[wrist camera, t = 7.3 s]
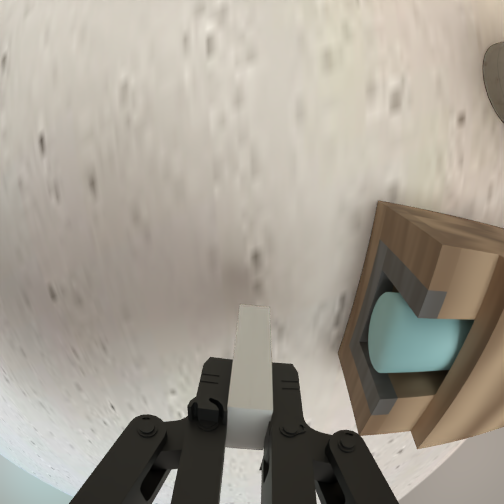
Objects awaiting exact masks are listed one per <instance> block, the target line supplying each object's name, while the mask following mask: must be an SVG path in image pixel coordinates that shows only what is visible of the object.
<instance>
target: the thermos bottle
mask: <svg viewBox="0 0 504 504" xmlns="http://www.w3.org/2000/svg"><path fill="white" fill-rule="evenodd" d="M483 73H484V81H485V86H486V90H487V93H488V96H489V99H490V101H491V103H492V106H493V108H494V109H495V111H496V113H497V114H498V116H499V117H500V118H501V120H502V121H503V122H504V42H500V43H497V44H494V45H492V46H491V47H490V48H489V49H488V50H487V52H486V54H485V58H484V63H483Z"/></svg>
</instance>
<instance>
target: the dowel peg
mask: <svg viewBox="0 0 504 504" xmlns="http://www.w3.org/2000/svg"><path fill="white" fill-rule="evenodd" d="M473 323H474V319H427V318H417V316H416V315H415V314H414V312H413V311H412V309H411V308H410V307H409V305H408V304H407V302H406V301H405V300H404V298H403V297H402V296H401V294H400V293H395V292H385V293H384V294H382V295H381V296H380V297H379V299H378V300H377V302H376V304H375V307H374V309H373V312H372V315H371V320H370V325H369V333H368V349H369V356H370V360H371V363H372V365H373V367H374V369H375V370H376V371H377V372H379V373H403V372H424V371H439V370H450V368H451V367H452V365H453V363H454V361H455V359H456V357H457V355H458V354H459V352H460V350H461V348H462V346H463V344H464V342H465V340H466V338H467V336H468V333H469V331H470V329H471V327H472V325H473Z"/></svg>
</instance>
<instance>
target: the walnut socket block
mask: <svg viewBox="0 0 504 504" xmlns="http://www.w3.org/2000/svg"><path fill="white" fill-rule="evenodd" d="M385 292H395V293H400V294H401V296H402V297H403V298H404V300H405V301H406V302H407V304H408V305H409V307H410V308H411V309H412V311H413V312H414V314H415V315H416V316H417V318H427V319H474V323H473V325H472V327H471V329H470V331H469V333H468V336H467V338H466V340H465V342H464V344H463V346H462V348H461V350H460V352H459V354H458V355H457V357H456V359H455V361H454V363H453V365H452V367H451V368H450V370H439V371H424V372H403V373H379V372H377V371H376V370H375V369H374V367H373V365H372V363H371V360H370V356H369V349H368V333H369V325H370V320H371V315H372V312H373V309H374V307H375V304H376V302H377V300H378V299H379V297H380V296H381V295H382V294H384V293H385ZM338 355H339V359H340V363H341V366H342V370H343V374H344V378H345V381H346V385H347V389H348V393H349V397H350V401H351V405H352V409H353V413H354V417H355V421H356V425H357V429H358V434H359V435H360V436H363V435H377V434H387V433H397V432H405V431H411V433H412V436H413V439H414V441H415V444H416V447H417V449H421V448H426V447H431V446H436V445H441V444H445V443H449V442H454V441H458V440H461V439H465V438H469V437H473V436H476V435H479V434H483V433H486V432H489V431H492V430H495V429H498V428H501V427H504V229H503V228H500V227H496V226H492V225H488V224H484V223H480V222H476V221H472V220H468V219H464V218H460V217H456V216H451V215H447V214H442V213H438V212H433V211H429V210H424V209H419V208H414V207H409V206H404V205H399V204H394V203H389V202H383V201H378V204H377V209H376V214H375V219H374V223H373V228H372V233H371V237H370V241H369V246H368V250H367V254H366V258H365V262H364V266H363V270H362V274H361V278H360V282H359V285H358V289H357V293H356V296H355V300H354V303H353V307H352V310H351V314H350V317H349V320H348V323H347V327H346V330H345V333H344V336H343V339H342V342H341V345H340V348H339V351H338Z"/></svg>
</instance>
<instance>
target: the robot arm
mask: <svg viewBox="0 0 504 504" xmlns="http://www.w3.org/2000/svg"><path fill="white" fill-rule="evenodd" d="M187 407H188V416H187V417H186V418H184V419H181V420H177V421H169V422H163V421H162V420H161V419H160V418H158V417H156V416H153V415H149V414H148V415H140V416H138V417H135V418H134V419H133V420H132V421H131V422H130V423H129V425H128V426H127V427H126V429H125V430H124V431H123V433H122V434H121V435H120V437H119V438H118V439H117V441H116V442H115V443H114V445H113V446H112V447H111V449H110V450H109V451H108V453H107V454H106V455H105V457H104V458H103V459H102V461H101V462H100V463H99V465H98V466H97V467H96V468H95V470H94V471H93V472H92V474H91V475H90V476H89V478H88V479H87V480H86V482H85V483H84V484H83V486H82V487H81V488H80V490H79V491H78V492H77V494H76V495H75V496H74V498H73V499H72V500H71V502H70V503H69V504H152V502H153V501H154V499H155V497H156V495H157V494H158V492H159V490H160V489H161V487H162V485H163V483H164V482H165V480H166V478H167V476H168V475H169V473H170V471H171V469H178V471H177V476H176V480H175V485H174V490H173V495H172V500H171V504H219V502H220V492H221V483H222V473H223V464H224V453H225V447H229V448H240V449H253V450H263V447H264V456H263V460H262V463H261V467H260V470H262V485H261V504H317V502H316V492H317V494H318V497H319V499H320V502H321V504H399V503H398V501H397V499H396V498H395V496H394V494H393V492H392V490H391V489H390V487H389V485H388V483H387V481H386V480H385V478H384V476H383V474H382V472H381V471H380V469H379V467H378V465H377V463H376V462H375V460H374V458H373V456H372V454H371V453H370V451H369V449H368V447H367V445H366V444H365V442H364V440H363V439H362V437H361V436H360V435H359V434H357V433H355V432H354V431H350V430H340V431H338V432H335V433H334V434H333V435H329V434H325V433H321V432H318V431H315V430H314V429H312V428H310V427H309V426H308V425H307V424H306V422H305V420H304V417H303V411H302V402H301V394H300V386H299V378H298V372H297V370H296V369H295V367H294V366H293V364H286V363H272V355H271V326H270V307H263V306H253V305H243V304H240V306H239V314H238V322H237V331H236V339H235V347H234V355H233V360H231V359H222V358H214V357H210V358H209V359H208V360H207V361H206V362H205V363H204V365H203V369H202V374H201V378H200V382H199V387H198V391H197V396H196V397H195V398H194V399H192V400H191V401H190V402H189V404H188V406H187ZM315 489H316V492H315Z"/></svg>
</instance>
